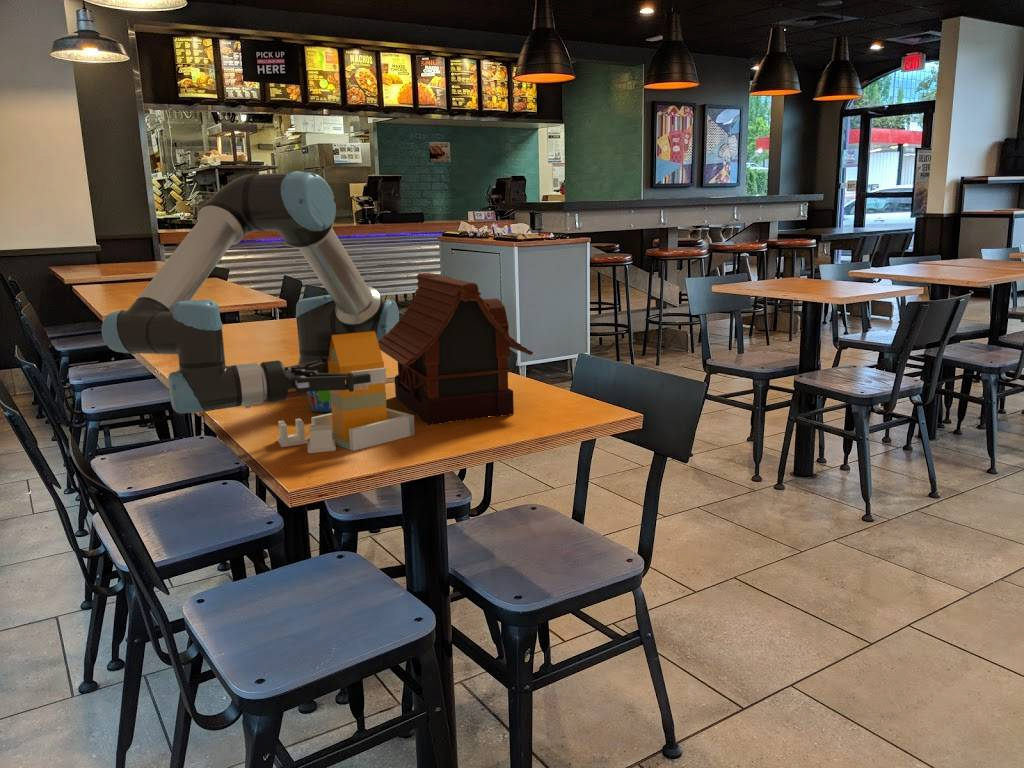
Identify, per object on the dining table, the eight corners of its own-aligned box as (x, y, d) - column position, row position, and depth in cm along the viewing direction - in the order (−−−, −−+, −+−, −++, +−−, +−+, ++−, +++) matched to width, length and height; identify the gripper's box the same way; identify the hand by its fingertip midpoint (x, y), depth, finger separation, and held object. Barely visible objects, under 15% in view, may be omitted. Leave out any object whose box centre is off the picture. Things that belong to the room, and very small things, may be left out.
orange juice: (388, 434, 152) (382, 333, 147) (344, 441, 147) (337, 337, 143) (375, 425, 158) (368, 328, 154) (332, 432, 154) (325, 332, 150)
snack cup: (311, 402, 183) (307, 359, 181) (356, 400, 184) (353, 358, 182) (297, 419, 168) (293, 372, 166) (346, 417, 169) (342, 371, 166)
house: (537, 414, 167) (535, 279, 161) (408, 430, 157) (400, 286, 151) (483, 384, 199) (479, 270, 193) (373, 395, 189) (365, 275, 183)
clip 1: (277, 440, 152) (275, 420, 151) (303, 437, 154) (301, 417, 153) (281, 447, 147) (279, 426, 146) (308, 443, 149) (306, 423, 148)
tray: (372, 422, 163) (371, 404, 162) (414, 434, 153) (413, 415, 152) (312, 436, 154) (311, 417, 153) (353, 451, 144) (352, 430, 143)
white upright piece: (308, 453, 143) (306, 432, 142) (307, 445, 148) (306, 425, 147) (335, 450, 144) (334, 429, 143) (334, 443, 149) (333, 423, 148)
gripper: (249, 390, 153) (353, 377, 163) (280, 417, 132) (397, 400, 142) (245, 353, 151) (351, 342, 162) (276, 373, 130) (395, 359, 140)
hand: (373, 369), depth 152 cm, fingers open, 13 cm apart
